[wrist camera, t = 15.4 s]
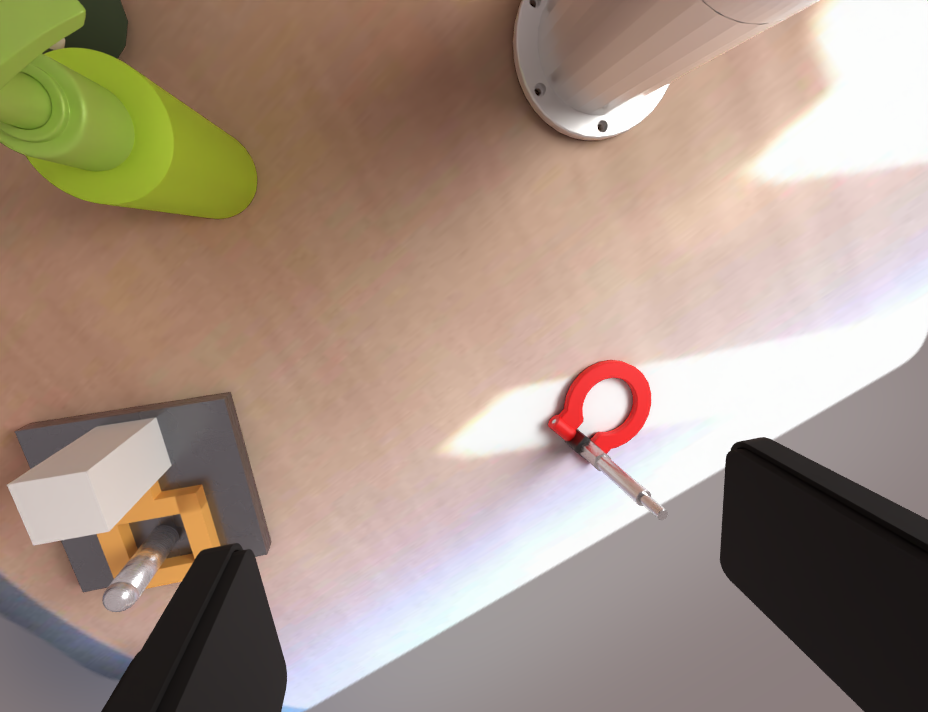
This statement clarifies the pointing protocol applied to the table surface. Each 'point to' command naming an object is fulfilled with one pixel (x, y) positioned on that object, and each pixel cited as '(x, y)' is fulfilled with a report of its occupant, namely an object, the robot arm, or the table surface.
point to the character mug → (99, 29)
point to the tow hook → (604, 441)
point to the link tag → (112, 496)
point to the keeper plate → (165, 488)
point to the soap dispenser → (109, 123)
